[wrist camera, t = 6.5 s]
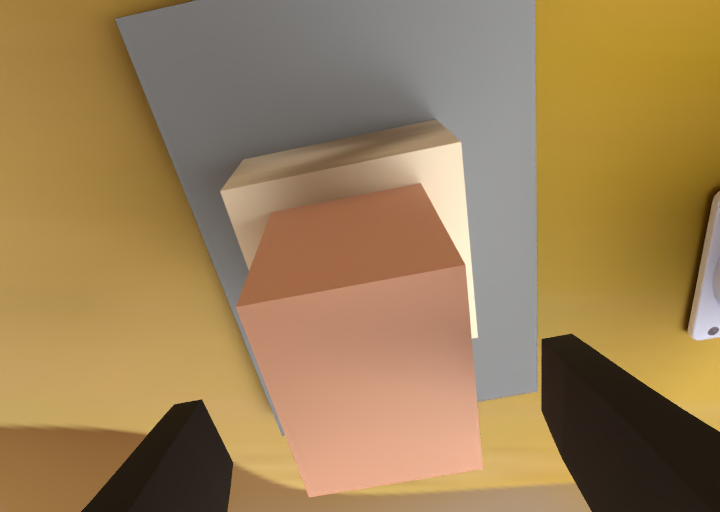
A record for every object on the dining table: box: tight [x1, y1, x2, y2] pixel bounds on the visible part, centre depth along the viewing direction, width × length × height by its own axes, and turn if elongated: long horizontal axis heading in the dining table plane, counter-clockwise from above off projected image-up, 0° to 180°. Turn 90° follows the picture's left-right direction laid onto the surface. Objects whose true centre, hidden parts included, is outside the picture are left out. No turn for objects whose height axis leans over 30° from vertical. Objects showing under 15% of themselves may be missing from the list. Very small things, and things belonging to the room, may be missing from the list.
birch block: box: [220, 120, 478, 339], centre depth 16 cm, size 7×7×4 cm
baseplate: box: [115, 0, 538, 436], centre depth 18 cm, size 13×19×2 cm
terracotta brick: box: [236, 183, 483, 497], centre depth 12 cm, size 4×6×5 cm
